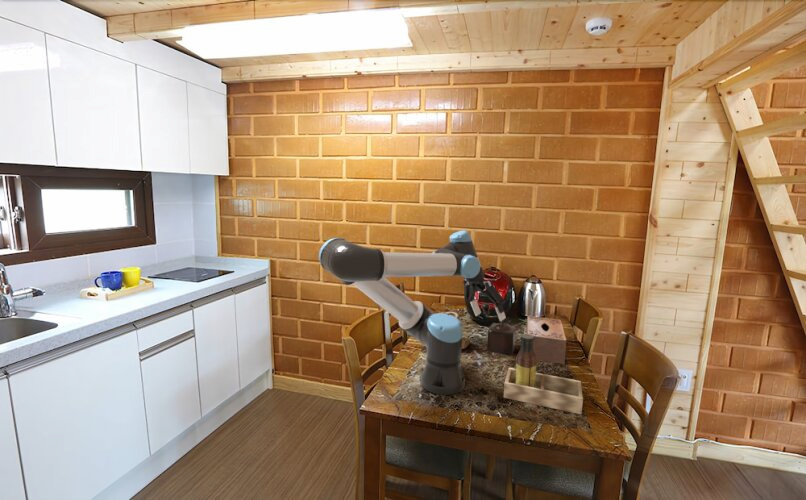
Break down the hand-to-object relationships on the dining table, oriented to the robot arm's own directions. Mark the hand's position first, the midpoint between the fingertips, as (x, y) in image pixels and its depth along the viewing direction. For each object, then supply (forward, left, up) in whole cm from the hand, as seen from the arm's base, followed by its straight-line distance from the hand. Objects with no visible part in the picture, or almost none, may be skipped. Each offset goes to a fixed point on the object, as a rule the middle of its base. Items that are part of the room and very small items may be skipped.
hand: (490, 316), depth 149 cm
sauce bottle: (-7, -26, -17) cm, 32 cm away
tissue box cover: (+28, -3, -18) cm, 33 cm away
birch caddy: (-3, -31, -17) cm, 35 cm away
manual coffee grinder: (+10, +6, -17) cm, 21 cm away
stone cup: (-7, +15, -17) cm, 24 cm away
